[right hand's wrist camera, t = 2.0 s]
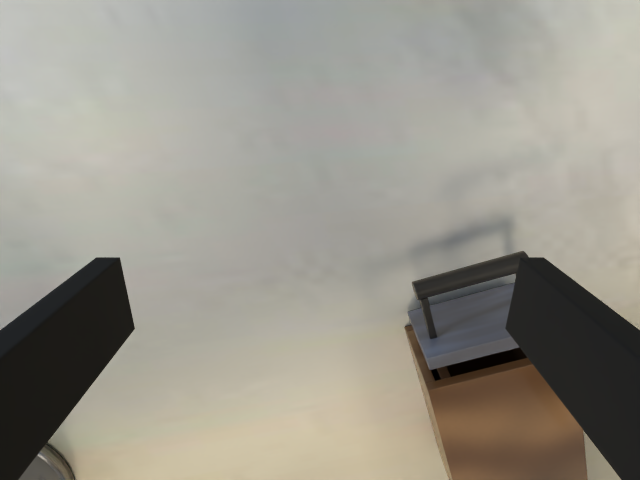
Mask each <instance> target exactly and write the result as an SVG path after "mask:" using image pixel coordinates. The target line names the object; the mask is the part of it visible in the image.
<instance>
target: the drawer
mask: <svg viewBox="0 0 640 480" xmlns="http://www.w3.org/2000/svg"><path fill="white" fill-rule="evenodd" d="M520 258H529V257H528V255H527V254H526V253H525V252H524V251H521V252H517V253H514V254H510V255H506V256H503V257H499V258H496V259H492V260H489V261H485V262H481V263H478V264H474V265H471V266H467V267H464V268H460V269H456V270H453V271H449V272H446V273H442V274H439V275H435V276H431V277H428V278H424V279H421V280H417V281H414V282H412V286H413V290H414V293H415V296H416V298H417V300H420V304H421V308H419V309H416V310H412V311H408V316H409V319H410V323H411V325H412V328H413V330H414V333H415V335H416V338H417V340H418V343H419V345H420V348H421V350H422V353H423V355H424V358H425V360H426V363H427V365H428V368H429V370H431V371H432V374H433V376H434V379H435V381H437V380H441V379H445V378H449V377H453V376H457V375H461V374H465V373H469V372H473V371H477V370H481V369H485V368H489V367H493V366H497V365H501V364H505V363H509V362H513V361H517V360H521V359H525V358H527V356H526V355H525V354H524V352H523V351H522V350H521V348H520V347H519V346H518V345H517V343H516V342H515V341H514V339H513V338H512V337H511V335H510V334H509V333H508V332H507V330H506V329H505V327H506V323H507V318H508V313H509V308H510V304H511V299H512V294H513V290H514V285H515V283H511V284H508V285H504V286H500V287H497V288H493V289H489V290H486V291H482V292H478V293H475V294H471V295H467V296H464V297H460V298H456V299H453V300H449V301H445V302H441V303H438V304H434V305H430V306H429V302H428V298H427V297H431V296H435V295H438V294H442V293H446V292H449V291H453V290H457V289H460V288H464V287H467V286H471V285H475V284H478V283H482V282H486V281H489V280H493V279H497V278H500V277H504V276H508V275H511V274H515V273H516V275H517V271H518V266H519V261H520Z"/></svg>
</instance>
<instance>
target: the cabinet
mask: <svg viewBox="0 0 640 480" xmlns="http://www.w3.org/2000/svg"><path fill="white" fill-rule="evenodd" d="M405 331H406V334H407V338H408V341H409V345H410V348H411V352H412V355H413V359H414V363H415V366H416V370H417V373H418V377H419V380H420V384H421V387H422V391H423V395H424V398H425V402H426V405H427V409H428V412H429V416H430V419H431V423H432V426H433V430H434V434H435V437H436V441H437V444H438V448H439V451H440V454H441V457H442V460H443V463H444V466H445V469H446V472H447V475H448V478H449V480H587V469H586V458H585V446H584V435H583V429H582V428H581V426H580V425H579V424H578V422H577V421H576V420H575V419H574V417H573V416H572V415H571V413H570V412H569V411H568V409H567V408H566V407H565V406H564V404H563V403H562V402H561V400H560V399H559V398H558V396H557V395H556V394H555V393H554V391H553V390H552V389H551V387H550V386H549V385H548V383H547V382H546V381H545V380H544V378H543V377H542V376H541V374H540V373H539V372H538V371H537V369H536V368H535V367H534V365H533V364H532V363H531V361H530V360H529V359H528V358H525V359H521V360H517V361H513V362H509V363H505V364H501V365H497V366H493V367H489V368H485V369H481V370H477V371H473V372H469V373H465V374H461V375H457V376H453V377H449V378H445V379H441V380H437V381H435V379H434V376H433V374H432V371H431V370H429V368H428V365H427V363H426V360H425V358H424V355H423V353H422V350H421V348H420V345H419V343H418V340H417V338H416V335H415V333H414V330H413V328H412V325H410V326H406V327H405Z"/></svg>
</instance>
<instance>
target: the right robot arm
mask: <svg viewBox="0 0 640 480" xmlns="http://www.w3.org/2000/svg"><path fill="white" fill-rule="evenodd" d="M134 329H135V327H134V323H133V318H132V313H131V308H130V304H129V299H128V294H127V290H126V285H125V280H124V275H123V271H122V266H121V261H120V258H95V259H94V260H93V261H91V262H90V263H89V264H87V265H86V266H85V267H83V268H82V269H81V270H79V271H78V272H77V273H75V274H74V275H73V276H71V277H70V278H69V279H67V280H66V281H65V282H64V283H62V284H61V285H60V286H58V287H57V288H56V289H54V290H53V291H52V292H50V293H49V294H48V295H46V296H45V297H44V298H42V299H41V300H40V301H38V302H37V303H36V304H34V305H33V306H32V307H31V308H29V309H28V310H27V311H25V312H24V313H23V314H21V315H20V316H19V317H17V318H16V319H15V320H13V321H12V322H11V323H9V324H8V325H7V326H5V327H4V328H3V329H1V330H0V480H74V479H73V475H72V473H71V470H70V468H69V467H68V465H67V464H66V462H65V461H64V460H63V459H62V457H61V456H60V455H59V454H58V453H57V452H55V451H54V450H53V449H52V448H50V447H49V446H48V445H46V443H47V442H48V441H49V439H50V438H51V437H52V435H53V434H54V433H55V432H56V430H57V429H58V428H59V426H60V425H61V424H62V422H63V421H64V420H65V419H66V417H67V416H68V415H69V413H70V412H71V411H72V409H73V408H74V407H75V406H76V404H77V403H78V402H79V400H80V399H81V398H82V396H83V395H84V394H85V393H86V391H87V390H88V389H89V387H90V386H91V385H92V383H93V382H94V381H95V380H96V378H97V377H98V376H99V374H100V373H101V372H102V371H103V369H104V368H105V367H106V365H107V364H108V363H109V361H110V360H111V359H112V358H113V356H114V355H115V354H116V352H117V351H118V350H119V348H120V347H121V346H122V345H123V343H124V342H125V341H126V339H127V338H128V337H129V335H130V334H131V333H132V332H133V330H134ZM505 329H506V330H507V332H508V333H509V334H510V335H511V337H512V338H513V339H514V341H515V342H516V343H517V345H518V346H519V347H520V348H521V350H522V351H523V352H524V354H525V355H526V356H527V358H528V359H529V360H530V361H531V363H532V364H533V365H534V367H535V368H536V369H537V371H538V372H539V373H540V374H541V376H542V377H543V378H544V380H545V381H546V382H547V383H548V385H549V386H550V387H551V389H552V390H553V391H554V393H555V394H556V395H557V396H558V398H559V399H560V400H561V402H562V403H563V404H564V406H565V407H566V408H567V409H568V411H569V412H570V413H571V415H572V416H573V417H574V419H575V420H576V421H577V422H578V424H579V425H580V426H581V428H582V429H583V430H584V432H585V433H586V434H587V435H588V437H589V438H590V439H591V441H592V442H593V443H594V444H595V446H596V447H597V448H598V450H599V451H600V452H601V454H602V455H603V456H604V457H605V459H606V460H607V461H608V463H609V464H610V465H611V467H612V468H613V469H614V470H615V472H616V473H617V474H618V476H619V477H620V478H621V480H640V330H639V329H637V328H636V327H635V326H633V325H632V324H631V323H629V322H628V321H627V320H625V319H624V318H623V317H621V316H620V315H619V314H617V313H616V312H615V311H613V310H612V309H611V308H609V307H608V306H607V305H606V304H604V303H603V302H602V301H600V300H599V299H598V298H596V297H595V296H594V295H592V294H591V293H590V292H588V291H587V290H586V289H584V288H583V287H582V286H580V285H579V284H578V283H576V282H575V281H574V280H573V279H571V278H570V277H569V276H567V275H566V274H565V273H563V272H562V271H561V270H559V269H558V268H557V267H555V266H554V265H553V264H551V263H550V262H549V261H547V260H546V259H545V258H520V261H519V266H518V271H517V275H516V280H515V285H514V290H513V294H512V299H511V304H510V308H509V313H508V318H507V323H506V327H505Z"/></svg>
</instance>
